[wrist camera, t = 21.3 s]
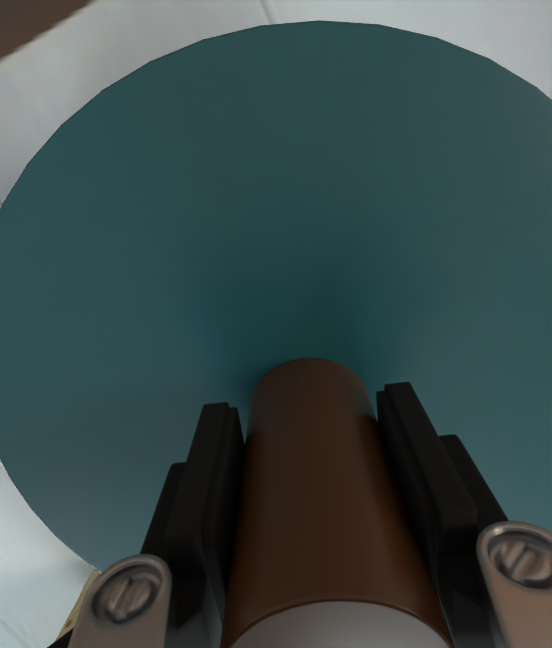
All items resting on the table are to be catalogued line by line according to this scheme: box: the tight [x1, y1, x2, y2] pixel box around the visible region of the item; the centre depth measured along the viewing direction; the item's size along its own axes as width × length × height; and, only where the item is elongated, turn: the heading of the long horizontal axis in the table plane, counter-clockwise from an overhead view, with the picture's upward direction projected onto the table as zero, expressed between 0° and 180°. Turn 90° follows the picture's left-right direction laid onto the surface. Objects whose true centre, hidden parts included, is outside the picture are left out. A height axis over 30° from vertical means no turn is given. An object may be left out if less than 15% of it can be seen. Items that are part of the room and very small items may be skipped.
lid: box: [0, 20, 552, 648], centre depth 10 cm, size 18×18×8 cm
